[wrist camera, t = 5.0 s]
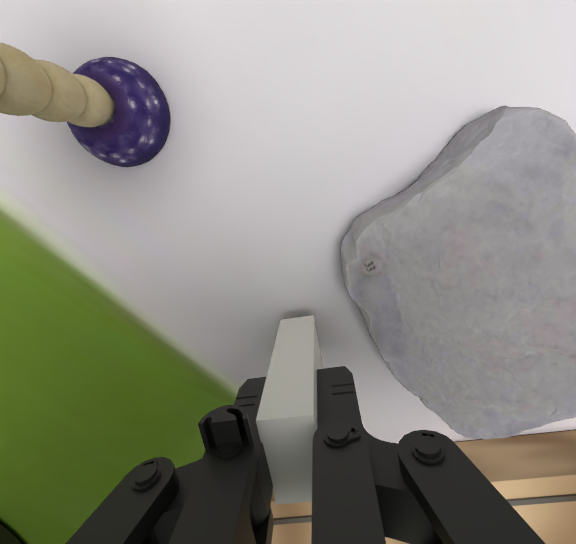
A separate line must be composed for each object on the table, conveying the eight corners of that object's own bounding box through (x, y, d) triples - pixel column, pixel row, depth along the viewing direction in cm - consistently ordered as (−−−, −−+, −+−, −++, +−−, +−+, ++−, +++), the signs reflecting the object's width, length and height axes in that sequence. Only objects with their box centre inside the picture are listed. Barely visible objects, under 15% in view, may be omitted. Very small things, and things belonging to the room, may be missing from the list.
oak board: (229, 571, 21) (219, 624, 19) (198, 468, 19) (181, 510, 17) (610, 547, 19) (656, 603, 16) (618, 425, 17) (671, 468, 14)
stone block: (440, 398, 19) (644, 313, 15) (458, 472, 15) (750, 380, 11) (313, 234, 18) (502, 93, 14) (292, 263, 14) (559, 70, 10)
